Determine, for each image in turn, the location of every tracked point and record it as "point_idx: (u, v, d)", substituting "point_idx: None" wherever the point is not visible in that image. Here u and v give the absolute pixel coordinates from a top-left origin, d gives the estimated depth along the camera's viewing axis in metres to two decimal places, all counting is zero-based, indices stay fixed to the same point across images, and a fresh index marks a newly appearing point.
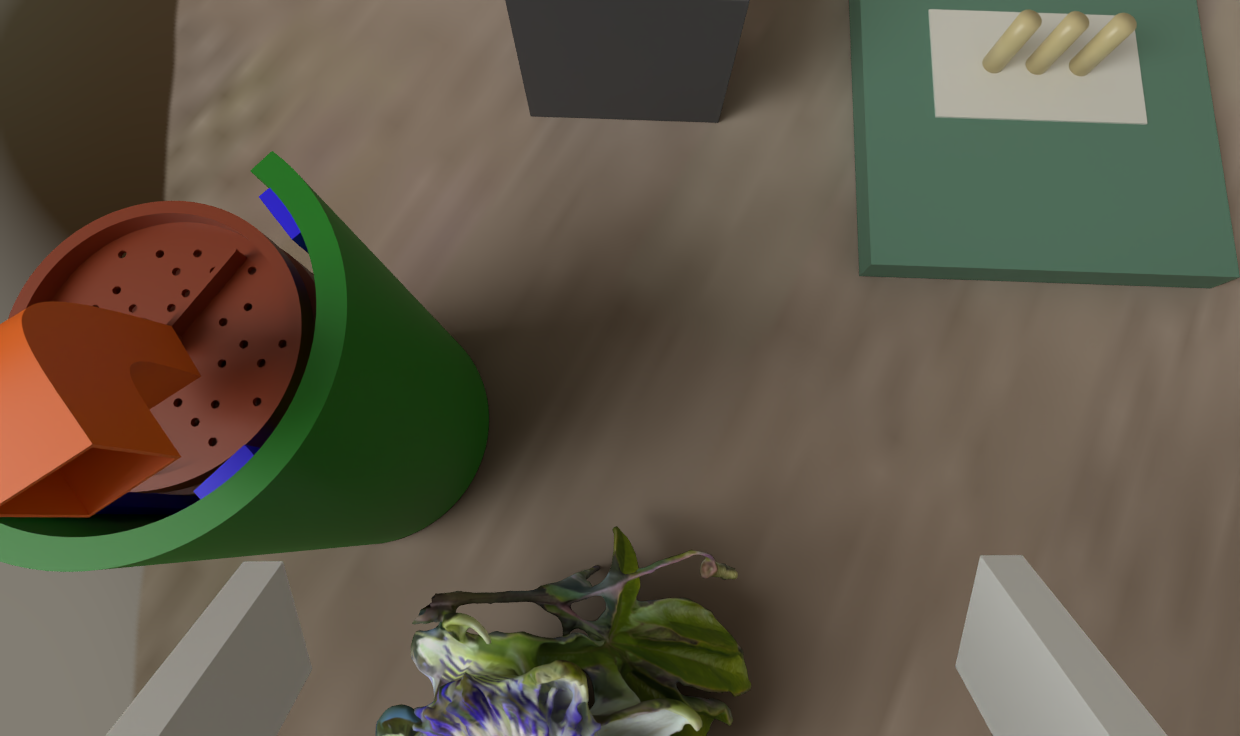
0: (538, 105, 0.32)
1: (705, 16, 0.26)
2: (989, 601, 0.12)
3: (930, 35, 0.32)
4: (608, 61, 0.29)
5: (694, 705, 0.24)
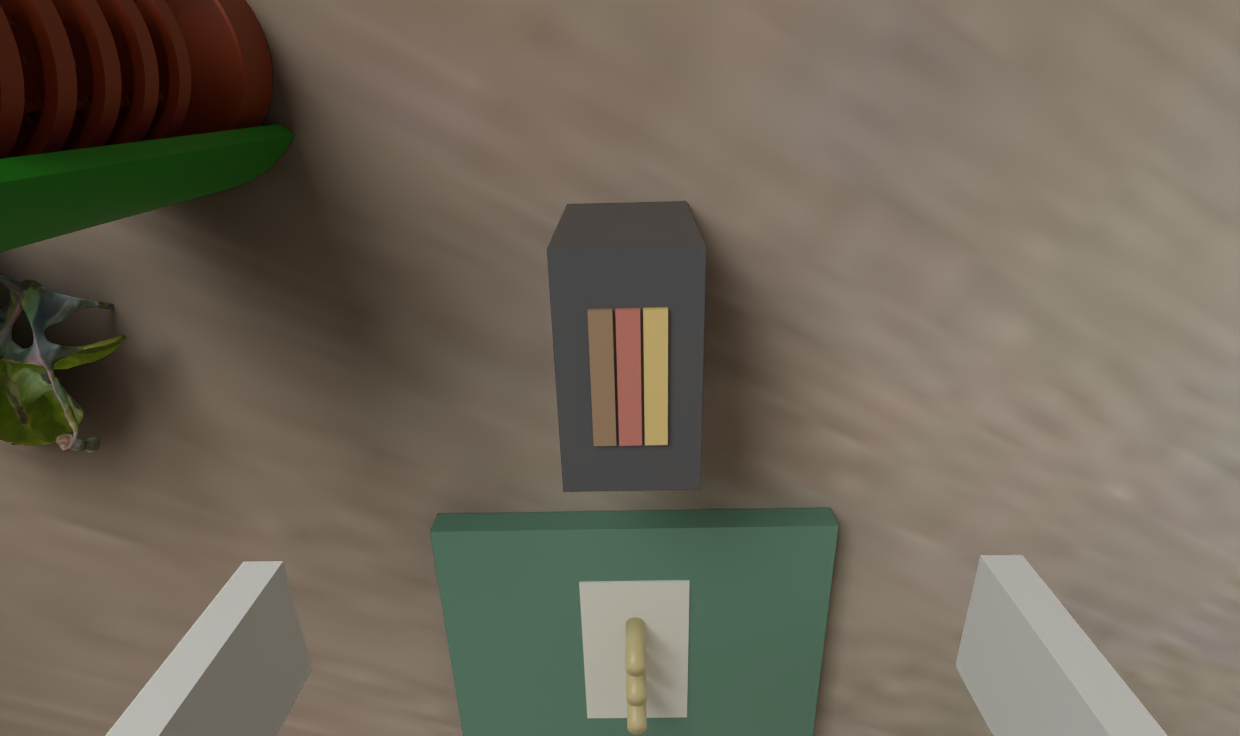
0: None
1: None
2: (989, 601, 0.12)
3: (662, 581, 0.35)
4: None
5: None
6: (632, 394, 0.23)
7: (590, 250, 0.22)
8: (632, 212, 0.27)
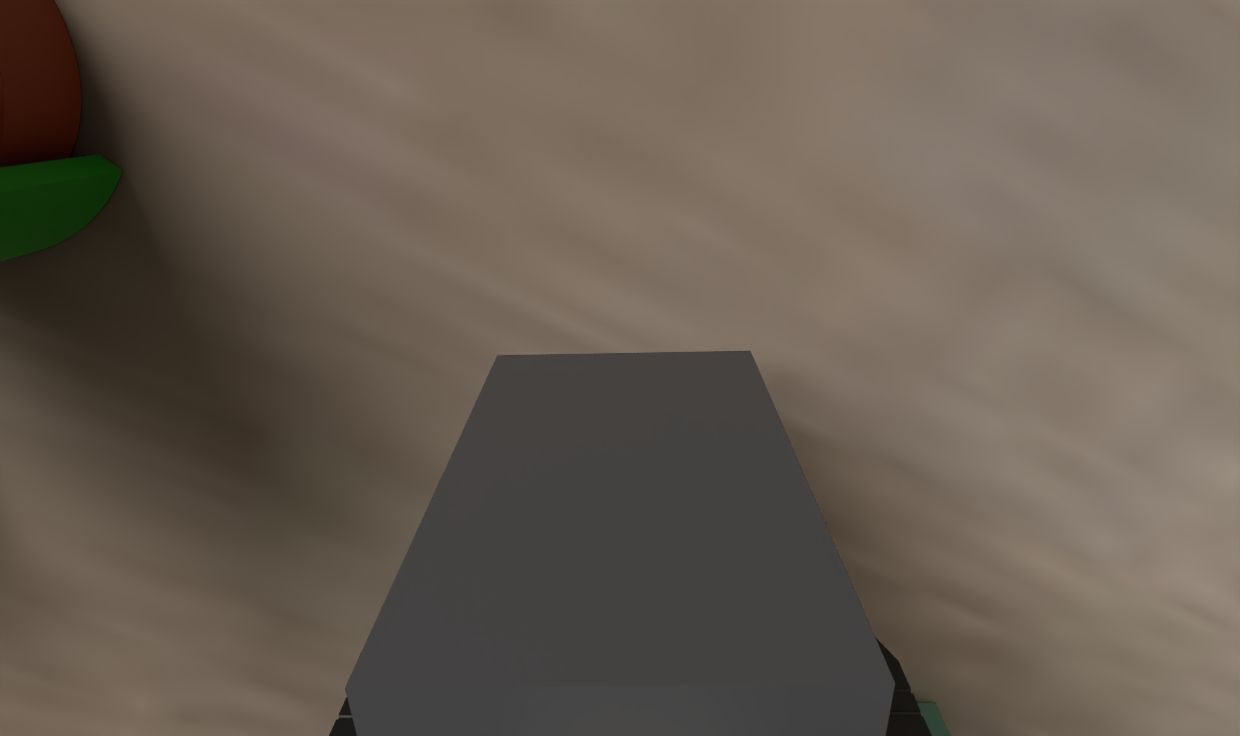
0: None
1: None
2: None
3: None
4: None
5: None
6: None
7: (496, 692, 0.06)
8: (636, 401, 0.12)
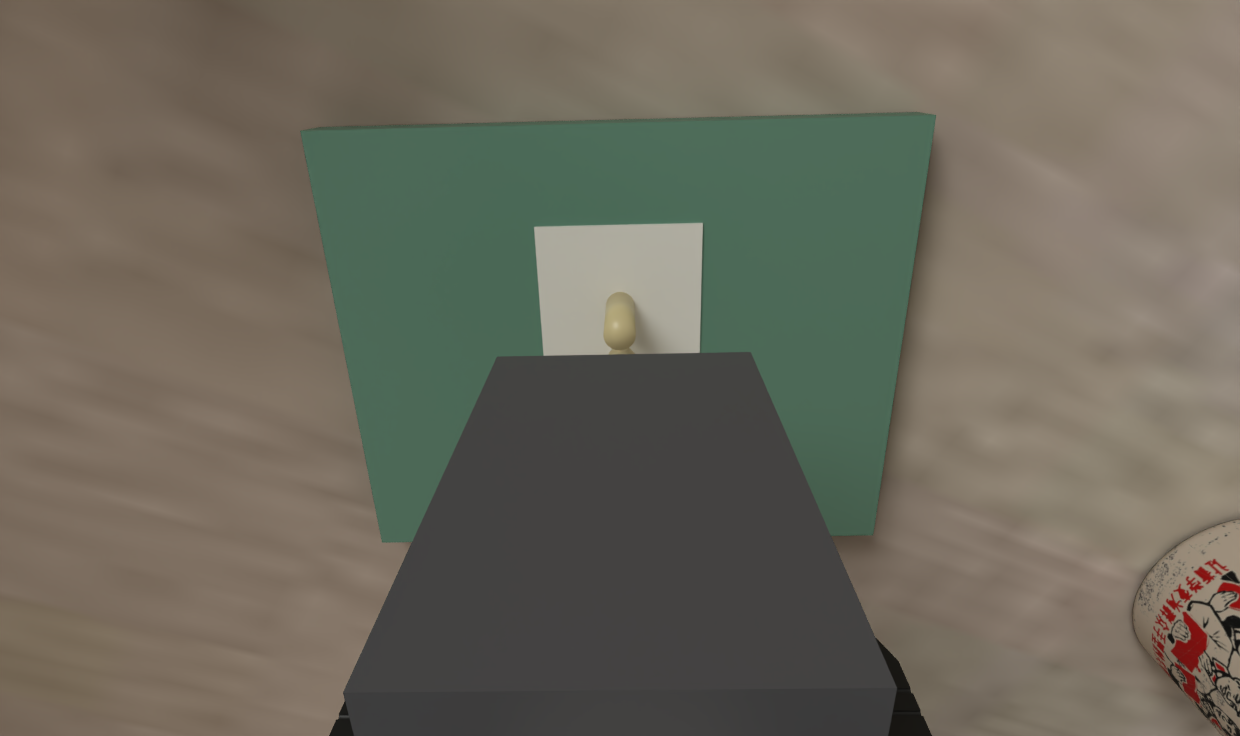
0: None
1: None
2: None
3: (660, 224, 0.23)
4: None
5: None
6: None
7: (495, 696, 0.06)
8: (636, 403, 0.12)
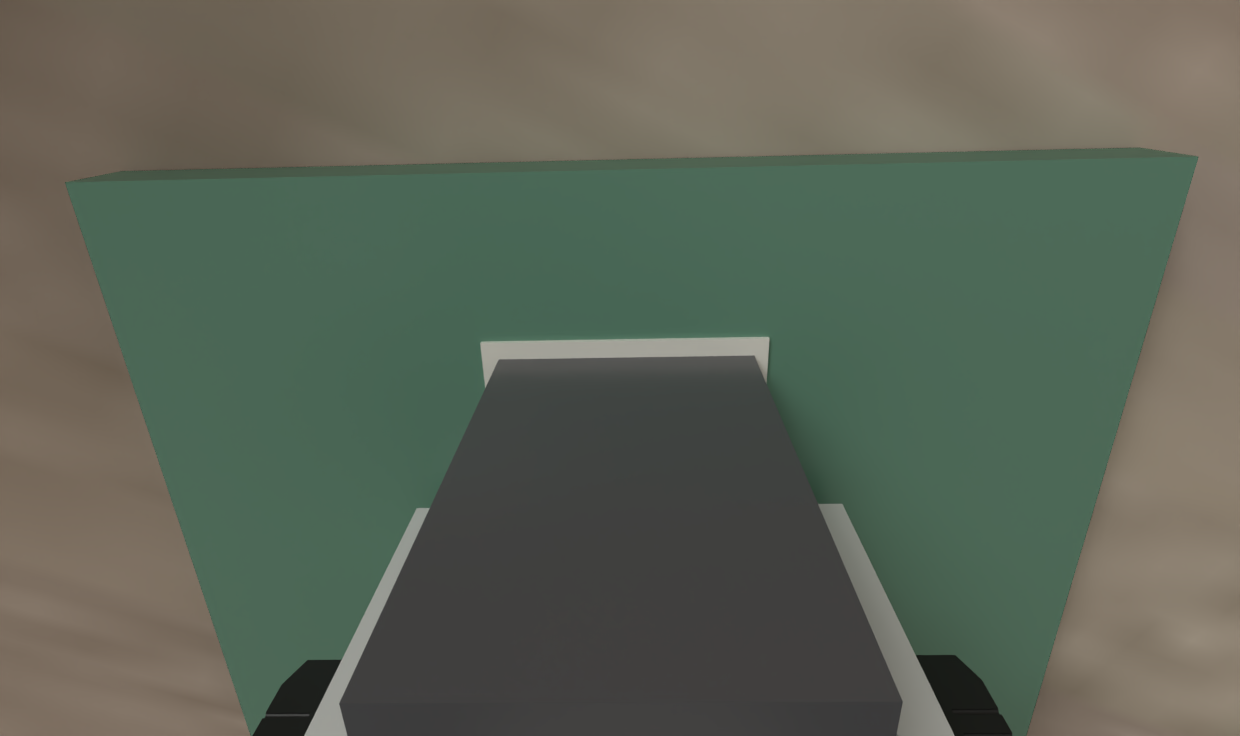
0: None
1: None
2: None
3: (696, 339, 0.13)
4: None
5: None
6: None
7: (493, 708, 0.06)
8: (638, 407, 0.11)
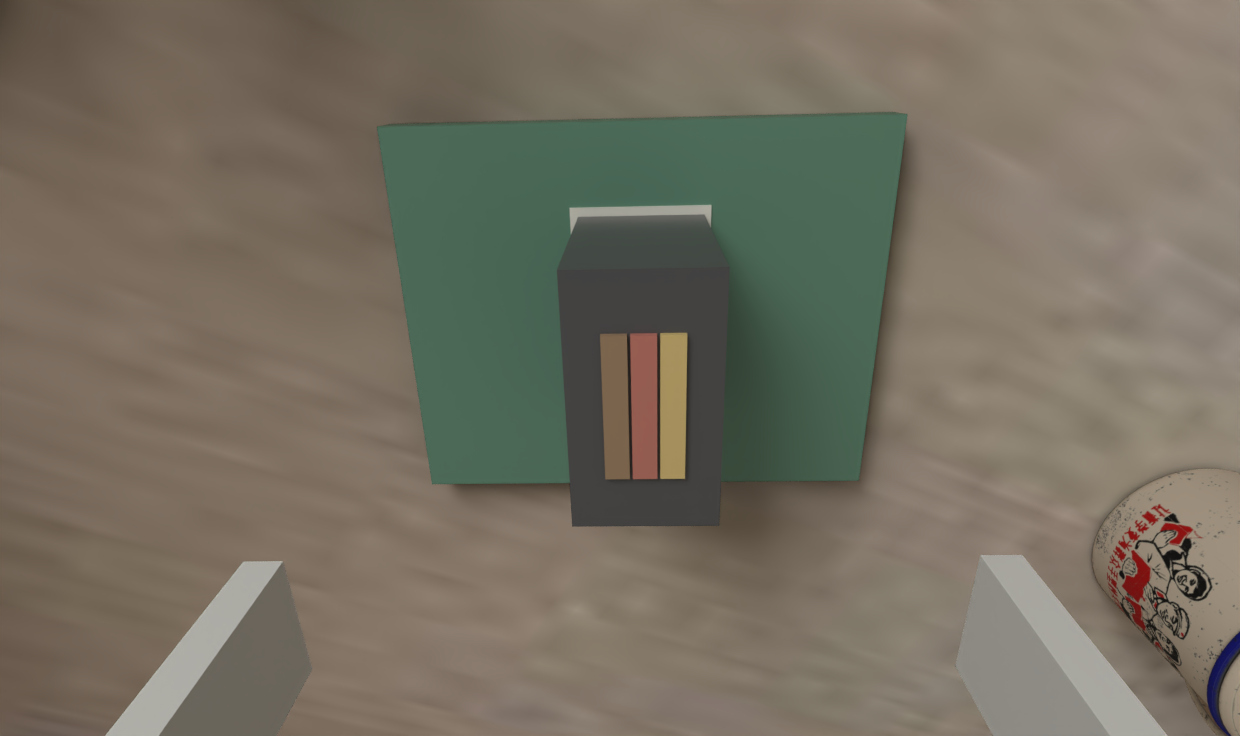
0: None
1: None
2: (989, 601, 0.12)
3: (675, 205, 0.27)
4: None
5: None
6: (647, 425, 0.22)
7: (604, 271, 0.20)
8: (647, 227, 0.25)
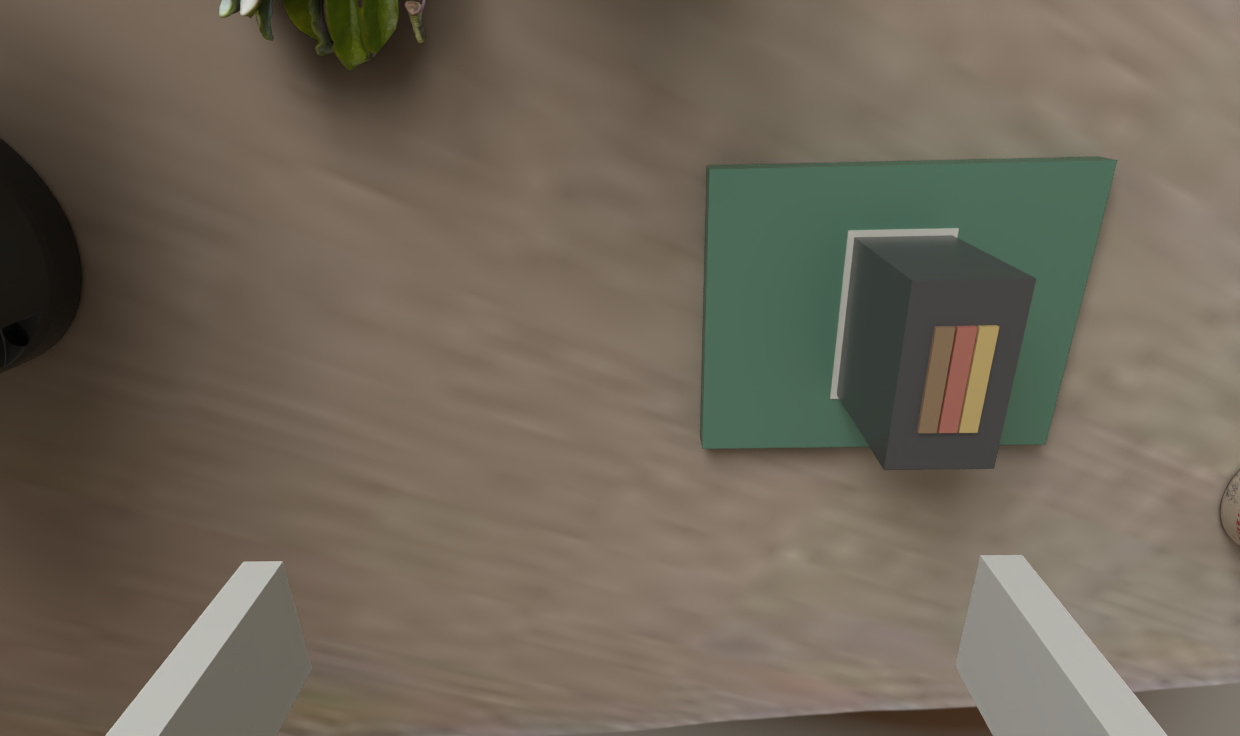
0: (858, 250, 0.35)
1: (881, 431, 0.32)
2: (989, 601, 0.12)
3: (931, 229, 0.35)
4: (872, 335, 0.33)
5: (312, 7, 0.29)
6: (957, 392, 0.30)
7: (946, 281, 0.28)
8: (924, 246, 0.33)
